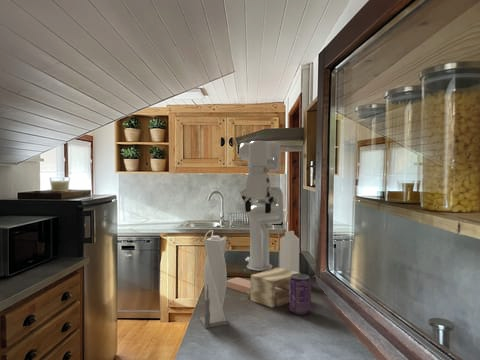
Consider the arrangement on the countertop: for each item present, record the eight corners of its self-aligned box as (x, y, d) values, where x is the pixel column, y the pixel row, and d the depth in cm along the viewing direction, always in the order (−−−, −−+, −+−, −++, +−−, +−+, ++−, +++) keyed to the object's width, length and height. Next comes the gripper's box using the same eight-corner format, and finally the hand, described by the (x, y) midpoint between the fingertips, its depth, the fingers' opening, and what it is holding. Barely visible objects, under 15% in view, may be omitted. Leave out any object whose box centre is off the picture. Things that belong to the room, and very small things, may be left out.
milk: (299, 282, 147) (299, 231, 147) (290, 285, 143) (290, 232, 142) (288, 279, 151) (288, 229, 151) (279, 282, 147) (279, 231, 147)
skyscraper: (198, 317, 109) (198, 230, 109) (222, 313, 112) (222, 228, 112) (205, 328, 102) (205, 234, 101) (230, 323, 105) (231, 232, 104)
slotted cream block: (245, 298, 127) (245, 273, 127) (271, 288, 138) (271, 266, 138) (274, 308, 117) (274, 281, 117) (300, 297, 128) (300, 272, 128)
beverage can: (297, 306, 119) (297, 271, 119) (315, 311, 114) (315, 276, 114) (285, 311, 114) (285, 275, 114) (302, 317, 109) (302, 280, 109)
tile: (225, 288, 140) (225, 280, 140) (237, 284, 146) (237, 277, 146) (254, 297, 129) (255, 289, 129) (266, 292, 135) (266, 285, 135)
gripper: (280, 171, 139) (280, 213, 139) (246, 171, 149) (245, 210, 149) (271, 170, 133) (271, 214, 133) (235, 171, 143) (235, 211, 143)
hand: (257, 212), depth 141 cm, fingers open, 9 cm apart
